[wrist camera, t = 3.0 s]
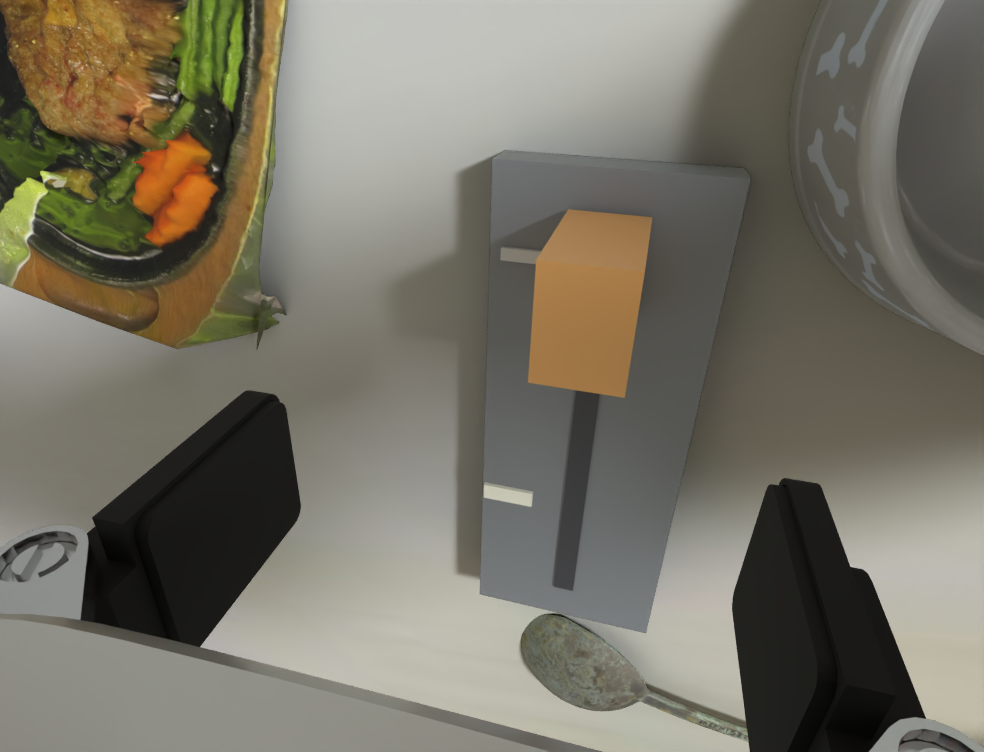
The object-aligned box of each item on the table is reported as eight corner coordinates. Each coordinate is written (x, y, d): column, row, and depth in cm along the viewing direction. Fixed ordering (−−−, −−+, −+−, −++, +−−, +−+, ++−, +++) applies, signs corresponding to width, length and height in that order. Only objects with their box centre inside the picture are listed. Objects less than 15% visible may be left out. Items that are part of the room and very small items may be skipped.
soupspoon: (538, 581, 37) (513, 642, 40) (523, 628, 34) (498, 689, 38) (914, 737, 34) (849, 787, 37) (931, 803, 31) (860, 849, 34)
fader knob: (568, 208, 22) (536, 259, 17) (652, 217, 22) (644, 271, 17) (559, 310, 24) (528, 382, 19) (635, 320, 24) (624, 397, 18)
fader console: (505, 150, 24) (490, 159, 22) (745, 168, 22) (751, 180, 20) (489, 567, 35) (478, 597, 33) (647, 603, 33) (645, 636, 32)
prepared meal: (-343, -648, 17) (236, -572, 14) (-189, -551, 20) (314, -474, 17) (-48, 273, 32) (254, 382, 30) (14, 251, 35) (294, 349, 33)
